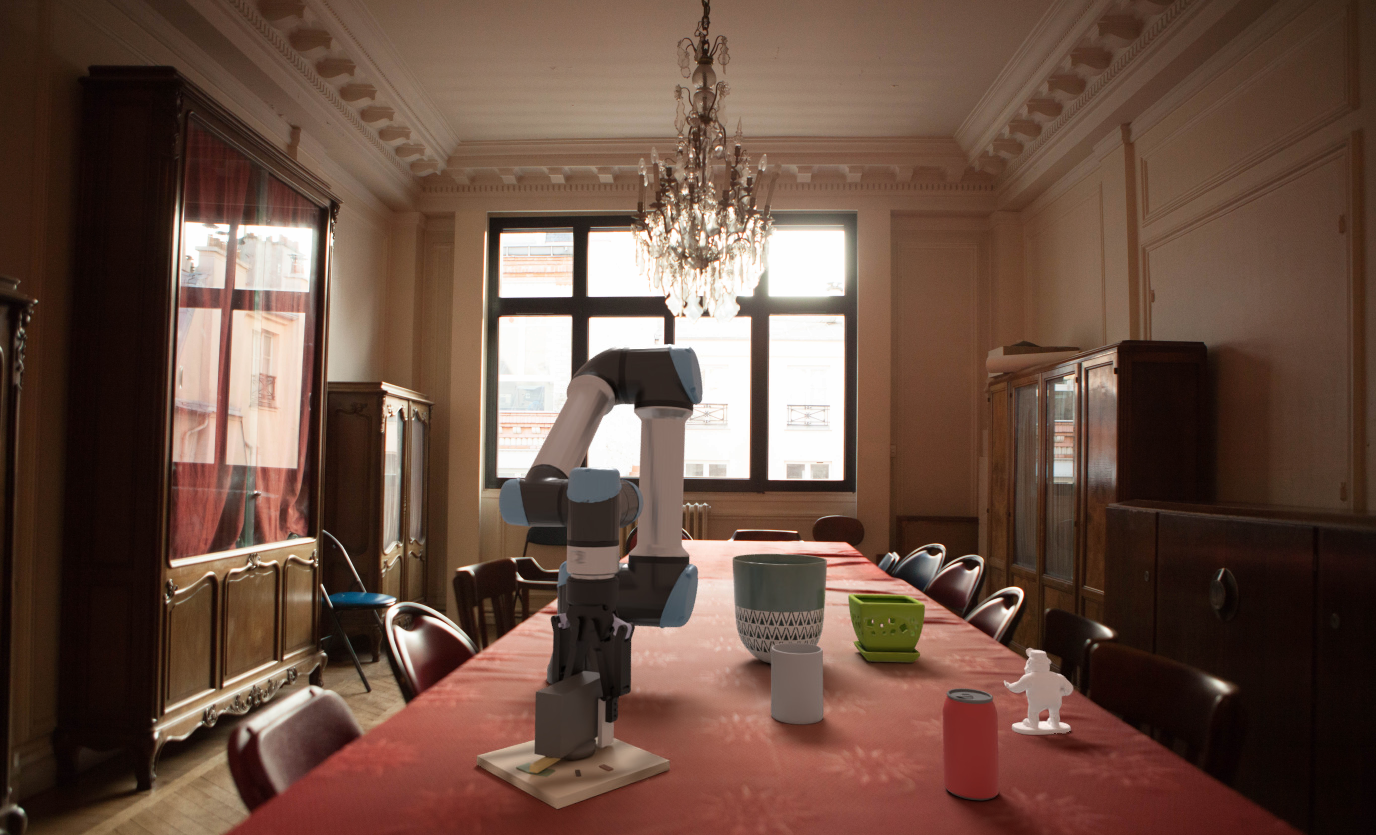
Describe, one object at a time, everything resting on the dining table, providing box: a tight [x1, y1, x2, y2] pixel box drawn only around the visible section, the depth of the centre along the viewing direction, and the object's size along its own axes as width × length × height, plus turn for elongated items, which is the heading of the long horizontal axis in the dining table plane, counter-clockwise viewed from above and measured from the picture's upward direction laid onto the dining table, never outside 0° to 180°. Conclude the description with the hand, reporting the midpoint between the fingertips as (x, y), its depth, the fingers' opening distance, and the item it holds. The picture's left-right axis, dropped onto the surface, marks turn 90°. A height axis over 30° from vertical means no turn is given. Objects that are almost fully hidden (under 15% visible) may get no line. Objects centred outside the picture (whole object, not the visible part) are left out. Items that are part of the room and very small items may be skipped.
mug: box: [770, 643, 824, 725], centre depth 130 cm, size 12×8×11 cm
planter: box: [732, 553, 828, 664], centre depth 165 cm, size 20×20×21 cm
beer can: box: [942, 687, 1000, 801], centre depth 99 cm, size 7×7×12 cm
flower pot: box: [848, 593, 926, 664], centre depth 169 cm, size 14×14×13 cm
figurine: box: [1003, 647, 1074, 736], centre depth 123 cm, size 9×7×12 cm
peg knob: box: [529, 671, 603, 773], centre depth 106 cm, size 15×6×9 cm, turn 155°
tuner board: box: [476, 737, 671, 810], centre depth 106 cm, size 19×18×1 cm
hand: (589, 740), depth 111 cm, fingers open, 5 cm apart
